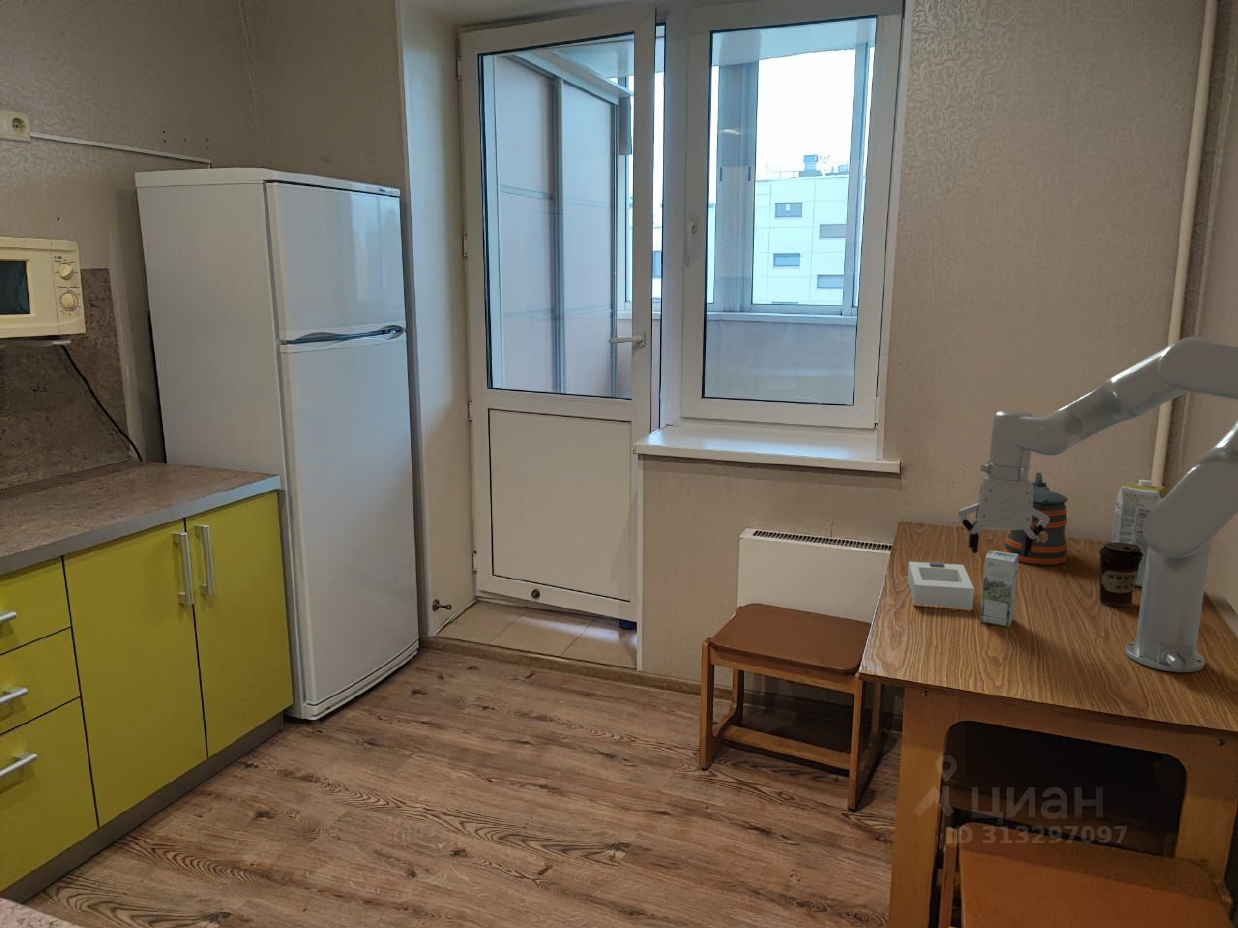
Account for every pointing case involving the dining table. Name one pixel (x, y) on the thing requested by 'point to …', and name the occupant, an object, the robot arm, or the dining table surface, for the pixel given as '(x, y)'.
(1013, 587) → the syrup box
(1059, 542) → the beer stein
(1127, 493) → the juice carton
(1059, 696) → the dining table surface
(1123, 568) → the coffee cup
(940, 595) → the socket block
